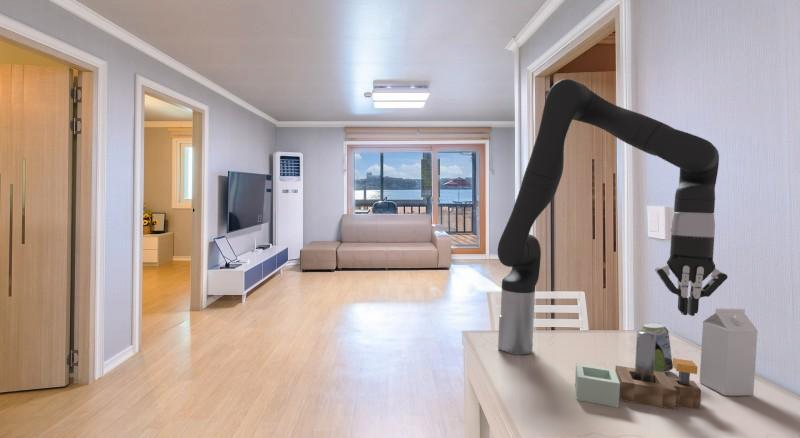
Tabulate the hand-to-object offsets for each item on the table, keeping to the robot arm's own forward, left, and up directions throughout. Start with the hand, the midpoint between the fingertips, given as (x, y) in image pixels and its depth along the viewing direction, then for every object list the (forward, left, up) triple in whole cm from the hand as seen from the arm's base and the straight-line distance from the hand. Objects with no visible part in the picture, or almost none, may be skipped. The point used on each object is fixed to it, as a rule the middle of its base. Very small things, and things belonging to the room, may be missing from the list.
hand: (687, 314), depth 89 cm
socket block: (-5, 0, -19) cm, 20 cm away
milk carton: (+12, +12, -19) cm, 25 cm away
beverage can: (-1, +18, -19) cm, 26 cm away
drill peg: (-7, 0, -19) cm, 20 cm away
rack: (-17, -5, -19) cm, 26 cm away
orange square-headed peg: (0, 0, -16) cm, 16 cm away
